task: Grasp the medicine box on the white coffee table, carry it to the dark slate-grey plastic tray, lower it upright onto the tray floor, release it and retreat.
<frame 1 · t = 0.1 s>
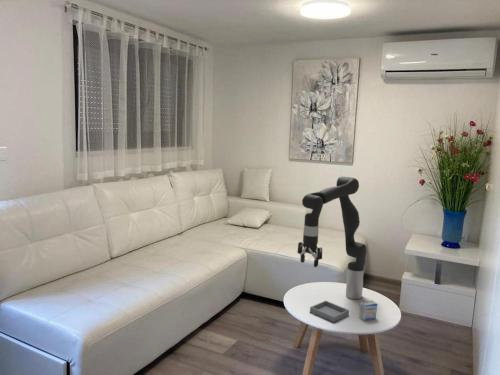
hand: (309, 264, 207), 29 cm above the table, fingers open, 8 cm apart
tray: (329, 313, 217), on the table
medicine box: (367, 318, 213), on the table
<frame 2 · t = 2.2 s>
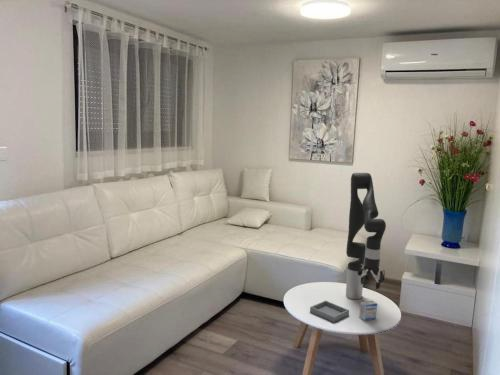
hand: (369, 286, 211), 18 cm above the table, fingers open, 8 cm apart
nothing on the table moved.
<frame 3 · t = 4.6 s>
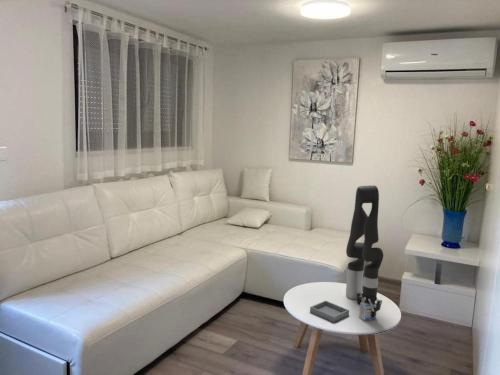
hand: (367, 315, 213), 2 cm above the table, fingers closed on medicine box, 5 cm apart
medicine box: (367, 318, 213), on the table, touching gripper
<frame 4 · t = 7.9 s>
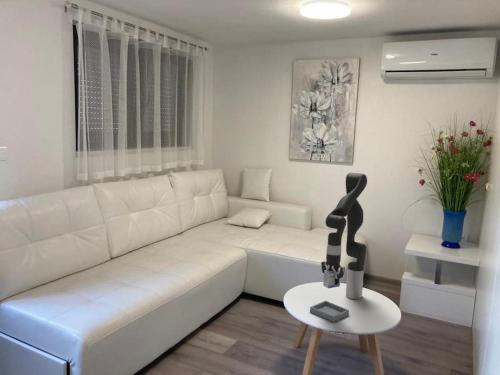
hand: (331, 282, 214), 17 cm above the table, fingers closed on medicine box, 5 cm apart
medicine box: (331, 286, 214), point 15 cm above the table, touching gripper
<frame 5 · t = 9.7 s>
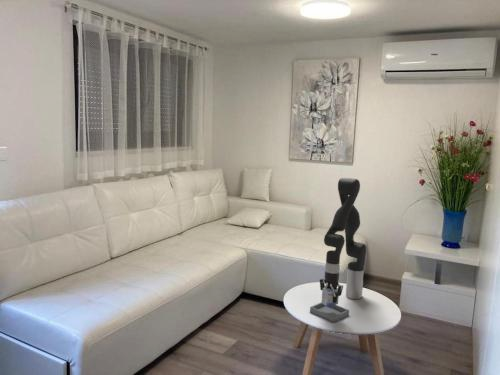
hand: (330, 300, 216), 8 cm above the table, fingers closed on medicine box, 5 cm apart
medicine box: (329, 304, 216), point 6 cm above the table, touching gripper
when the fingers open (4 cm above the table, at t = 11.3 s): medicine box drops 2 cm, resting on tray.
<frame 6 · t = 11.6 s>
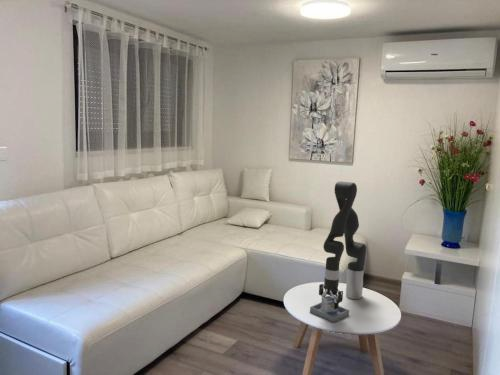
hand: (329, 306, 216), 4 cm above the table, fingers open, 7 cm apart
medicine box: (329, 312, 217), resting on tray
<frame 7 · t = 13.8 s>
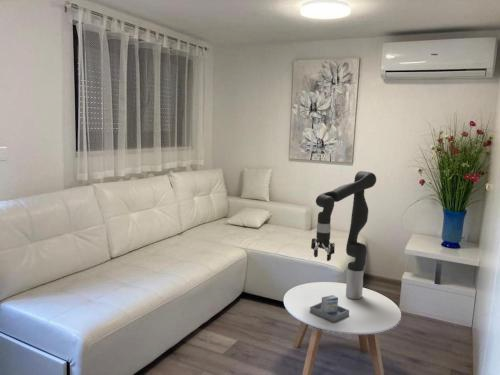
hand: (322, 258, 225), 27 cm above the table, fingers open, 8 cm apart
nothing on the table moved.
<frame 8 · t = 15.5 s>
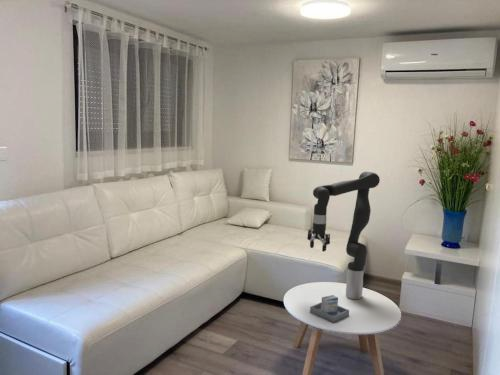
hand: (317, 249, 231), 30 cm above the table, fingers open, 8 cm apart
nothing on the table moved.
at the end: medicine box inside the target area on the tray (0.3 cm from its centre), point 0.4 cm above the tray's base; medicine box tilted 0°; the gripper is holding nothing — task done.
